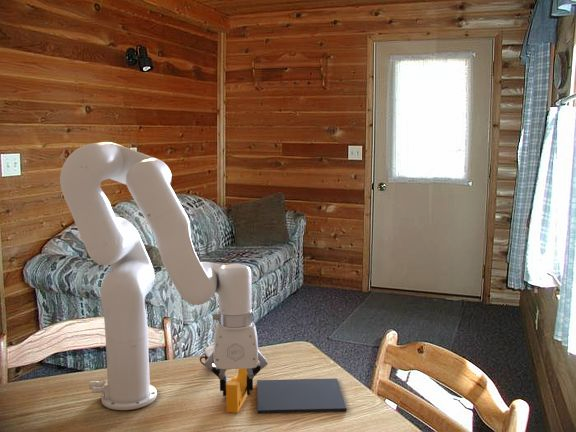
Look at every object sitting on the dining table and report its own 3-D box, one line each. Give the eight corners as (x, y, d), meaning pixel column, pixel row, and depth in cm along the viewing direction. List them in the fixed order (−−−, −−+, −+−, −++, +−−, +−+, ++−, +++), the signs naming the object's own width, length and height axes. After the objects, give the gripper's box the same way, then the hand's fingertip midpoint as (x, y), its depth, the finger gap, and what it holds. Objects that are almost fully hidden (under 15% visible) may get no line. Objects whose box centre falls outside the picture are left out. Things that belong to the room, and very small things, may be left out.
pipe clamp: (234, 388, 151) (233, 363, 150) (251, 389, 150) (250, 364, 149) (219, 411, 140) (218, 384, 139) (237, 412, 139) (237, 385, 138)
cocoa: (199, 372, 160) (198, 328, 158) (202, 362, 167) (201, 319, 165) (235, 372, 160) (235, 328, 158) (237, 363, 167) (237, 320, 165)
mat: (257, 413, 138) (257, 410, 138) (257, 383, 154) (257, 380, 154) (346, 411, 140) (346, 408, 139) (336, 381, 155) (337, 378, 155)
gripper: (196, 324, 138) (198, 401, 141) (273, 323, 139) (273, 399, 142) (199, 313, 145) (201, 387, 148) (272, 312, 146) (272, 385, 149)
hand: (236, 392), depth 145 cm, fingers closed on pipe clamp, 4 cm apart
